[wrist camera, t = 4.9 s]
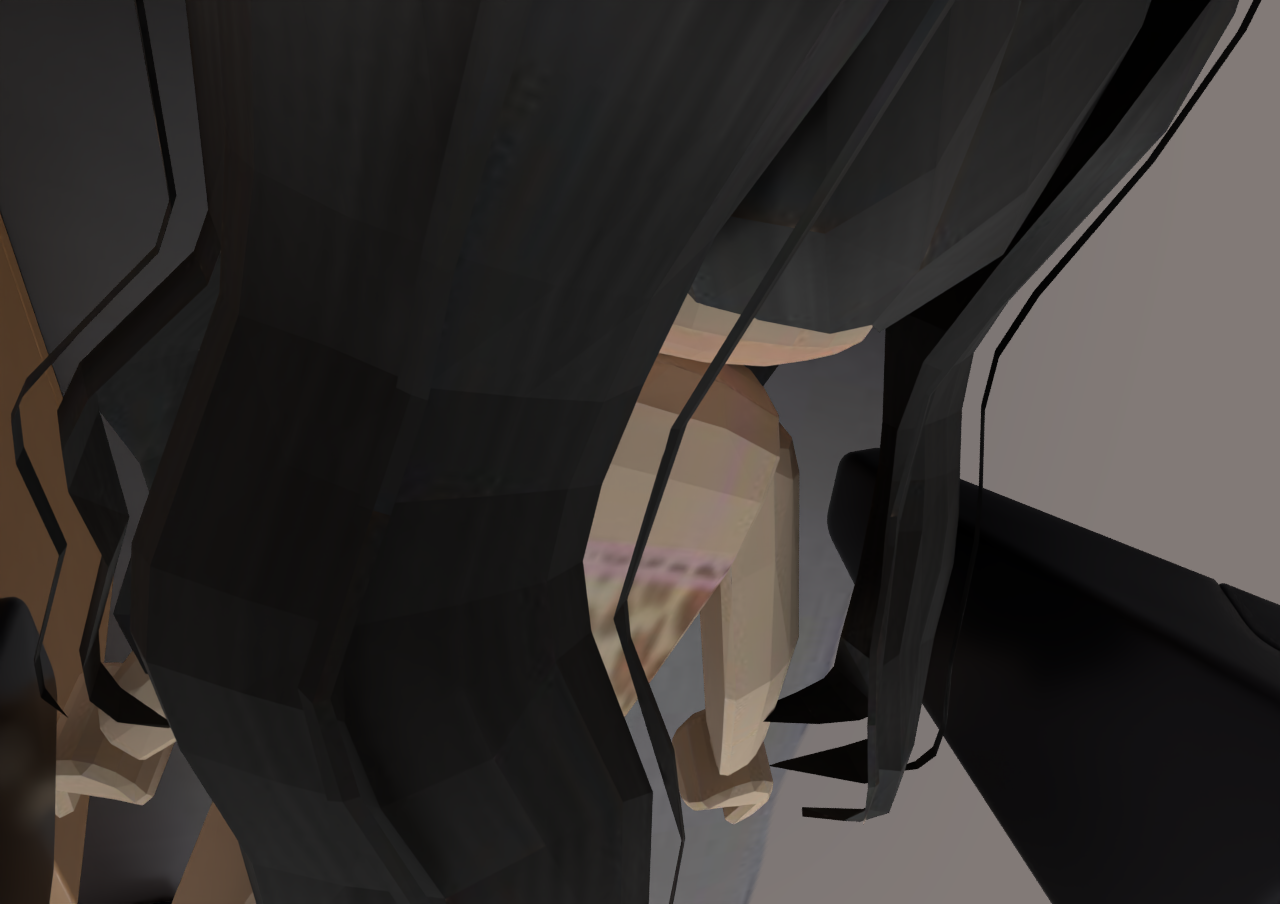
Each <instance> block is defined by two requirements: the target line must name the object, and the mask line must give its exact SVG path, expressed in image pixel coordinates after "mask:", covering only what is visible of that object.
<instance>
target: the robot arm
mask: <svg viewBox="0 0 1280 904" xmlns="http://www.w3.org/2000/svg"><path fill="white" fill-rule="evenodd" d="M879 455H880V448H872V449H866V450H860V451H854V452H850V453H848V454H846V455H844V457H843V458H842V459H841V461H840V463H839V466H838V470H837V474H836V479H835V483H834V487H833V492H832V496H831V501H830V505H829V509H828V515H827V524H828V530H829V533H830V536H831V539H832V541H833V543H834V545H835V547H836V549H837V551H838V553H839V555H840V557H841V559H842V561H843V563H844V565H845V567H846V568H847V570H848V572H849V574H850V576H851V578H852V580H853V582H854V584H855V582H856V578H857V575H858V570H859V565H860V560H861V555H862V550H863V545H864V540H865V535H866V530H867V525H868V520H869V515H870V510H871V505H872V499H873V493H874V487H875V482H876V476H877V470H878V465H879ZM978 489H979V486H977V485H974V484H972V483H969V482H967V481H964V480H961V479H960V490H959V518H958V527H957V537H956V546H955V556H954V564H953V568H952V572H951V576H950V579H949V583H948V587H947V591H946V594H945V598H944V602H943V606H942V610H941V613H940V617H939V621H938V625H937V628H936V632H935V636H934V641H933V646H932V652H931V657H930V662H929V668H928V673H927V678H926V684H925V689H924V694H923V699H922V704H923V705H924V707H925V708H926V710H927V712H928V713H929V715H930V716H931V718H932V719H933V721H934V722H935V724H936V725H937V727H938V729H940V726H941V724H942V721H943V711H944V698H945V689H946V681H947V672H948V663H949V658H950V653H951V648H952V643H953V639H954V634H955V629H956V624H957V620H958V615H959V610H960V605H961V600H962V596H963V591H964V586H965V581H966V577H967V572H968V567H969V562H970V558H971V553H972V548H973V543H974V535H975V524H976V512H977V501H978ZM39 636H40V635H39V632H38V630H37V627H36V625H35V622H34V620H33V617H32V615H31V612H30V610H29V608H28V606H27V605H26V604H25V602H24V601H23V600H22V599H19V598H17V597H5V598H0V904H50V896H51V887H52V879H53V870H54V845H55V795H56V740H57V709H55V708H54V707H53V706H51V705H50V704H48V703H47V702H46V701H44V700H43V699H42V698H41V697H40V692H39V687H38V682H37V677H36V672H35V667H34V656H35V652H36V648H37V644H38V640H39ZM40 659H41V665H42V672H43V678H44V685H45V688H46V689H47V691H48V692H49V693H50V695H51V696H52V697H53V698H54V700H55V701H56V702H57V687H56V680H55V675H54V671H53V668H52V665H51V663H50V660H49V657H48V655H47V652H46V650H45V647H44V645H43V643H42V647H41V651H40ZM943 736H944V738H945V739H946V741H947V743H948V744H949V745H950V747H951V749H952V750H953V752H954V753H955V755H956V756H957V758H958V759H959V761H960V762H961V764H962V766H963V767H964V769H965V770H966V772H967V773H968V775H969V776H970V778H971V780H972V781H973V783H974V784H975V786H976V787H977V789H978V790H979V792H980V793H981V795H982V796H983V798H984V800H985V801H986V803H987V804H988V806H989V807H990V809H991V810H992V812H993V814H994V815H995V817H996V818H997V820H998V821H999V823H1000V824H1001V826H1002V827H1003V829H1004V831H1005V832H1006V834H1007V835H1008V837H1009V838H1010V840H1011V841H1012V843H1013V844H1014V846H1015V848H1016V849H1017V850H1018V852H1019V854H1020V855H1021V857H1022V858H1023V860H1024V861H1025V863H1026V865H1027V866H1028V868H1029V869H1030V871H1031V872H1032V874H1033V875H1034V877H1035V878H1036V880H1037V881H1038V883H1039V885H1040V886H1041V887H1042V889H1043V891H1044V892H1045V894H1046V895H1047V897H1048V898H1049V900H1050V902H1051V903H1052V904H1280V605H1278V604H1276V603H1273V602H1271V601H1268V600H1265V599H1263V598H1260V597H1258V596H1255V595H1253V594H1250V593H1248V592H1245V591H1243V590H1240V589H1238V588H1235V587H1233V586H1230V585H1228V584H1225V583H1222V584H1219V585H1218V583H1217V582H1216V581H1215V580H1214V579H1212V578H1209V577H1207V576H1204V575H1202V574H1199V573H1197V572H1194V571H1191V570H1189V569H1187V568H1184V567H1181V566H1179V565H1177V564H1174V563H1171V562H1169V561H1166V560H1164V559H1161V558H1159V557H1156V556H1154V555H1151V554H1149V553H1146V552H1144V551H1141V550H1139V549H1136V548H1134V547H1131V546H1128V545H1126V544H1123V543H1121V542H1118V541H1116V540H1113V539H1111V538H1108V537H1106V536H1103V535H1101V534H1098V533H1096V532H1093V531H1090V530H1088V529H1086V528H1083V527H1080V526H1078V525H1075V524H1073V523H1070V522H1068V521H1065V520H1063V519H1060V518H1057V517H1055V516H1053V515H1050V514H1048V513H1045V512H1043V511H1040V510H1037V509H1035V508H1032V507H1030V506H1027V505H1025V504H1022V503H1020V502H1017V501H1015V500H1012V499H1010V498H1007V497H1005V496H1002V495H999V494H997V493H994V492H992V491H990V490H987V489H984V488H983V492H982V506H981V520H980V534H979V545H978V550H977V554H976V559H975V563H974V568H973V572H972V577H971V582H970V586H969V591H968V595H967V600H966V604H965V609H964V614H963V618H962V623H961V627H960V632H959V636H958V641H957V646H956V650H955V655H954V659H953V664H952V674H951V684H950V695H949V705H948V715H947V724H946V728H945V731H944V734H943ZM154 904H172V902H159V903H154Z"/></svg>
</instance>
